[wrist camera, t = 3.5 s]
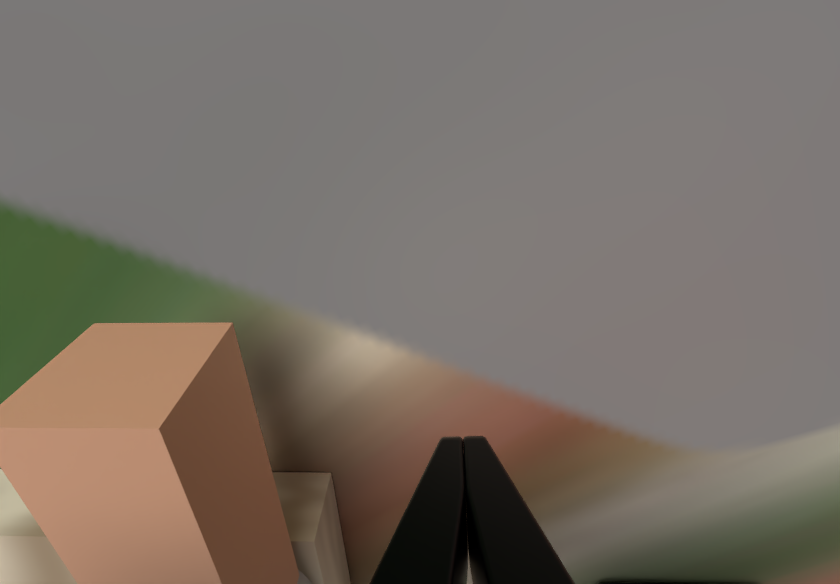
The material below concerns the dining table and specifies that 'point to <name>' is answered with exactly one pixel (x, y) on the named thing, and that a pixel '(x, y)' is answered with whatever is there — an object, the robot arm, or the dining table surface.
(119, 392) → the hinged leg
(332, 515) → the flat cream base board
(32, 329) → the dining table surface
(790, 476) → the dining table surface
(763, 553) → the dining table surface
